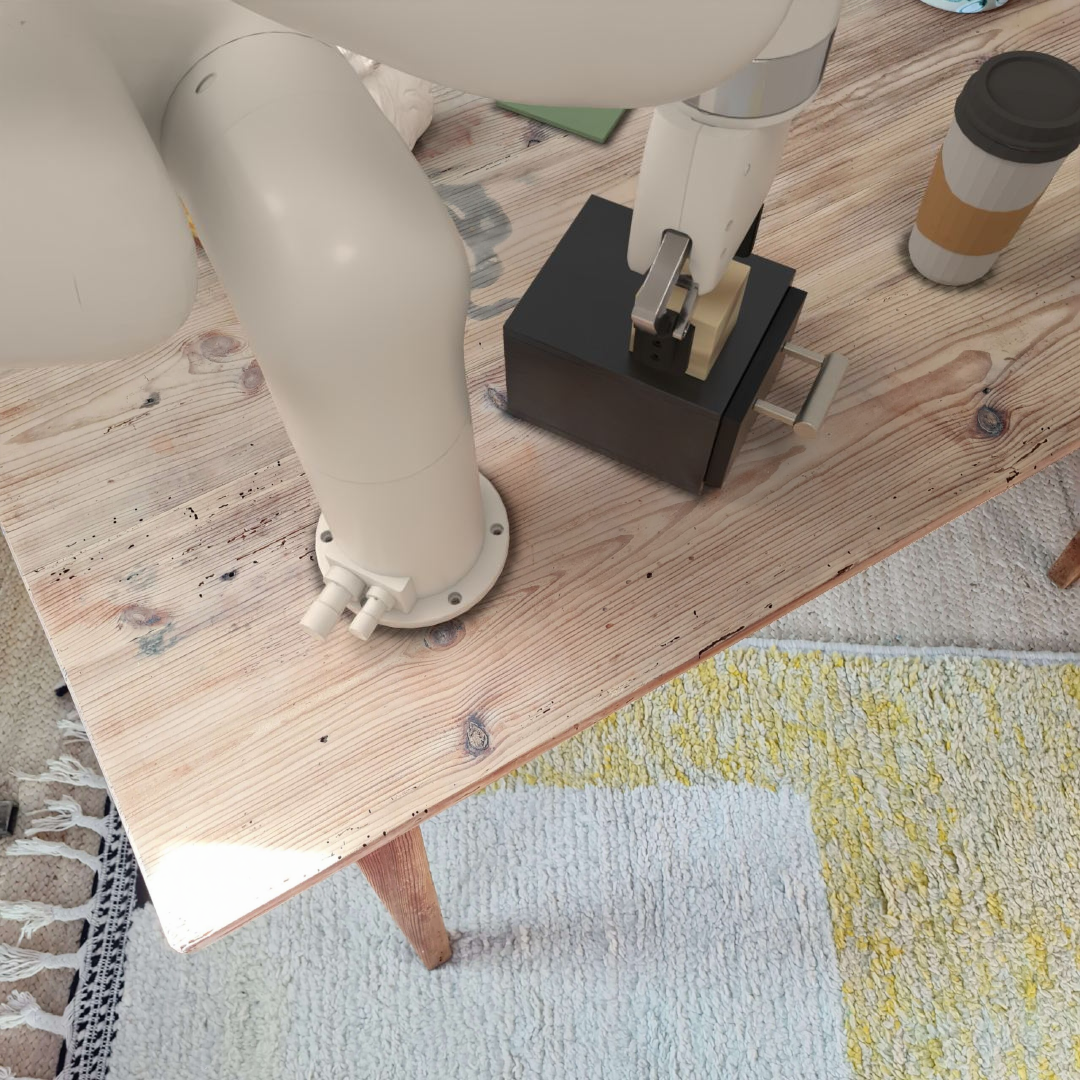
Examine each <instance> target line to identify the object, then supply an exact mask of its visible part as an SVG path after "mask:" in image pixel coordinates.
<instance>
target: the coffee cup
mask: <svg viewBox="0 0 1080 1080" xmlns="http://www.w3.org/2000/svg"><path fill="white" fill-rule="evenodd" d="M953 112H954V113H953V117H952V119H951V122H950V125H949V127H948V130H947V133H946V136H945V139H944V141H943V143H942V144H941V146H940V149H939V151H938V155H937V156H936V160H935V162H934V164H933V165H934V166H933V168H932V171H931V174H930V177H929V179H928V182H927V185H926V187H925V191H924V193H923V196H922V199H921V201H920V204H919V208H918V211H917V214H916V218H915V222H914V225H913V227H912V231H911V233H910V236H909V240H908V244H907V245H908V252H909V258H910V261H911V263H912V265H913V267H914V268H915V269H916V270H917V271H918V272H919V273H920V274H921V275H922V276H924V277H925V278H927V279H929V280H930V281H931V282H935V283H937V284H940V285H945V286H956V287H958V286H964V285H968V284H970V283H973V282H975V281H976V280H978V279H981V278H982V277H983V276H984V275H986V274H987V273H988V272H989V271H990V269H991V268H992V267H993V266H994V263H995V262H996V261H997V259H998V258H999V256H1001V254H1002V252H1003V251H1004V249H1006V248H1007V247H1008V245H1009V244H1010V242H1011V241H1012V239H1013V238H1014V237H1015V235H1016V234H1017V232H1018V230H1019V229H1020V228H1021V227H1022V225H1023V224H1024V222H1025V221H1026V220H1027V218H1028V217H1029V215H1030V214H1031V213H1032V211H1033V210H1034V208H1035V207H1036V205H1037V204H1038V202H1039V201H1040V200H1041V198H1042V197H1043V195H1044V194H1045V192H1046V190H1048V187H1049V186H1050V184H1051V183H1052V182H1053V180H1054V177H1055V176H1056V174H1057V173H1058V172H1059V170H1060V169H1061V167H1062V166H1063V164H1064V162H1065V161H1066V160H1067V158H1068V157H1069V155H1071V154H1072V153H1073V152H1074V151H1076V150H1077V149H1078V148H1079V147H1080V70H1079V69H1078V68H1077V67H1075V66H1074V65H1072V64H1070V63H1069V62H1068V61H1066V60H1065V59H1062V58H1060V57H1057V56H1054V55H1052V54H1050V53H1044V52H1039V51H1036V50H1022V49H1021V50H1018V49H1017V50H1011V51H1004V52H1001V53H999V54H996V55H993V56H992V57H990V58H989V59H988V60H986V61H985V62H983V63H982V65H981V66H980V68H979V69H978V70H977V71H975V72H974V73H972V74H971V75H970V77H969V78H968V80H967V81H966V82H965V84H964V85H963V87H962V90H961V92H960V93H959V94H958V96H957V97H956V99H955V103H954V108H953Z"/></svg>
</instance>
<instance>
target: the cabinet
mask: <svg viewBox="0 0 1080 1080" xmlns="http://www.w3.org/2000/svg"><path fill="white" fill-rule="evenodd" d="M633 210H634V208H631V207H628V206H625V205H623V204H620V203H618V202H616V201H612V200H610V199H606V198H604V197H601V196H598V195H596V194H590V196H589V197H588V198H587V200H586V202H585V203H584V204H583V206H582V208H581V209H580V210H579V212H578V213H577V215H576V216H575V218H574V220H573V221H572V223H571V224H570V225H569V227H568V228H567V230H566V231H565V233H564V234H563V236H562V237H561V239H560V240H559V241H558V243H557V245H556V246H555V248H553V250H552V251H551V253H550V255H549V256H548V258H547V259H546V261H545V263H544V264H543V266H542V267H541V269H539V272H537V274H536V275H535V278H534V279H533V280H532V281H531V283H530V285H529V286H528V288H527V289H526V291H525V292H524V293H523V295H522V297H521V298H520V299H519V301H518V303H517V304H516V306H515V307H514V308H513V310H512V311H511V313H510V314H509V316H508V317H507V319H506V320H505V322H504V323H503V324H502V339H503V355H504V357H503V358H504V369H505V372H504V375H505V387H506V401H507V414H509V415H510V416H513V417H515V418H518V419H520V420H522V421H524V422H527V423H529V424H531V425H534V426H535V427H538V428H540V429H543V430H545V431H547V432H550V433H552V434H555V435H557V436H559V437H562V438H563V439H566V440H569V441H570V442H573V443H575V444H578V445H580V446H582V447H585V448H587V449H589V450H591V451H594V452H596V453H598V454H600V455H603V456H606V457H608V458H610V459H613V460H615V461H617V462H619V463H621V464H624V465H627V466H629V467H631V468H633V469H636V470H637V471H640V472H642V473H645V474H647V475H649V476H651V477H654V478H657V479H659V480H661V481H664V482H665V483H668V484H670V485H672V486H675V487H677V488H679V489H682V490H684V491H686V492H688V493H691V494H693V495H696V496H699V495H700V493H701V491H702V490H703V487H704V485H706V483H705V482H704V480H705V477H706V473H707V470H708V466H709V462H710V459H711V455H712V452H713V448H714V445H715V441H716V438H717V434H718V431H719V427H720V424H721V420H722V417H723V415H724V413H725V411H726V409H727V407H728V405H729V403H730V401H731V399H732V397H733V395H734V393H735V392H736V390H737V388H738V386H739V384H740V382H741V380H742V378H743V376H744V374H745V372H746V370H747V368H748V367H749V365H750V363H751V361H752V359H753V357H754V355H755V353H756V351H757V349H758V347H759V345H760V343H761V342H762V340H763V338H764V336H765V334H766V332H767V330H768V328H769V326H770V324H771V322H772V320H773V318H774V317H775V315H776V313H777V311H778V309H779V307H780V305H781V303H782V301H783V299H784V297H785V295H786V293H787V292H788V290H789V288H790V286H792V285H793V283H794V280H795V276H796V273H797V269H796V268H793V267H790V266H789V265H785V264H782V263H780V262H777V261H774V260H772V259H769V258H767V257H764V256H761V255H758V254H756V253H753V252H751V254H750V256H749V257H746V258H741V257H738V256H736V255H734V257H733V258H732V260H734V261H737V262H740V263H742V264H745V265H748V266H750V272H749V276H748V280H747V283H746V287H745V291H744V295H743V298H742V302H741V306H740V310H739V314H738V317H737V321H736V324H735V326H734V328H733V329H732V331H731V333H730V335H729V337H728V339H727V341H726V342H725V344H724V346H723V348H722V350H721V352H720V354H719V355H718V357H717V359H716V361H715V363H714V365H713V366H712V368H711V370H710V372H709V374H708V376H707V378H706V379H705V380H704V381H703V380H701V379H698V378H696V377H693V376H691V375H688V374H686V373H685V374H684V375H683V376H677V375H674V374H672V373H669V372H667V371H660V370H656V369H654V368H651V367H649V366H647V365H646V364H645V363H644V362H642V361H639V360H637V359H635V358H634V356H633V352H631V351H630V350H629V349H630V341H631V332H632V324H633V321H632V319H631V314H632V310H633V308H634V305H635V299H636V295H637V293H638V291H639V290H640V288H641V286H642V285H643V283H644V281H645V280H646V278H647V275H648V273H649V271H650V268H651V266H652V265H651V266H650V268H649V269H648V270H647V271H646V272H645V274H644V275H642V274H640V273H638V272H636V271H633V270H631V269H630V267H629V265H628V261H627V253H628V245H629V238H630V231H631V224H632V217H633Z"/></svg>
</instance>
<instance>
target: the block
mask: <svg viewBox="0 0 1080 1080" xmlns="http://www.w3.org/2000/svg"><path fill="white" fill-rule="evenodd" d="M689 260H690V259H688V258H687V259H686V262H685V264H684V266H683V268H682V272H685V273H687V274H690V275H691V272H690V269H689V266H688V265H689ZM749 272H750V266H748V265H745V264H742V263H740V262H737V261H734V260H731V262H730V264H729V265H728V267H727V269H726V271H725V272H724V274H723V276H722V277H721V279H720V281H719V282H718V284H717V285H716V287H715V288H714V289H713V290H712V291H710V292H708V293H706V294H703V295H701V296H700V298H699V301H698V304H697V307H696V309H695V312H694V315H693V318H692V320H691V323H692V324H693V325H694V326H696V328H695V333H694V339H693V344H692V349H691V354H690V359H689V364H688V368H687V370H686V372H685V373H686V374H688V375H691V376H693V377H696V378H698V379H701V380H703V381H704V380H705V379H706V378H707V376H708V374H709V372H710V370H711V368H712V366H713V365H714V363H715V361H716V359H717V357H718V355H719V354H720V352H721V350H722V348H723V346H724V344H725V342H726V341H727V339H728V337H729V335H730V333H731V331H732V329H733V328H734V326H735V324H736V321H737V317H738V314H739V310H740V306H741V302H742V298H743V295H744V291H745V287H746V283H747V280H748V276H749ZM644 282H645V281H644ZM643 284H644V283H643ZM642 287H643V285H642V286H641V288H640V290H639V291H638V293H637V295H636V299H635V303H636V300H637V298H638V296H639V294H640V291H641V289H642ZM687 291H688V290H686V289H684V288H681V287H679V286H676V285H675V287H674V289H673V291H672V293H671V296H670V298H669V300H668V303H667V307H666V308H668V309H670V310H673V311H676V312H678V313H680V311H681V308H682V305H683V302H684V300H685V297H686V294H687ZM634 335H635V328H633V324H632V332H631V341H630V349H629V350H630V351H631V352H633V344H634Z"/></svg>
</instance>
